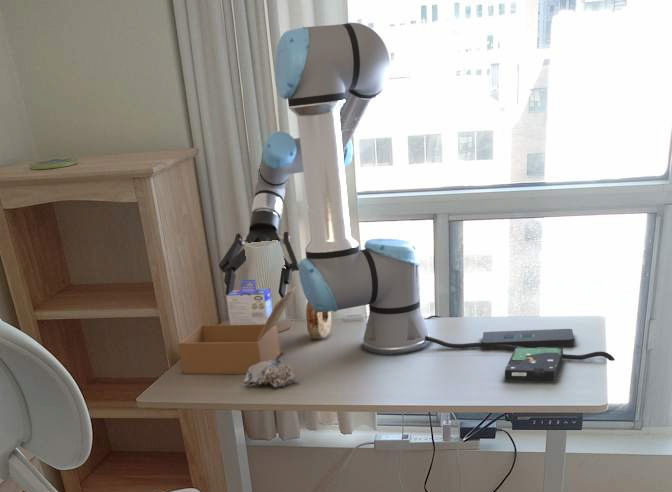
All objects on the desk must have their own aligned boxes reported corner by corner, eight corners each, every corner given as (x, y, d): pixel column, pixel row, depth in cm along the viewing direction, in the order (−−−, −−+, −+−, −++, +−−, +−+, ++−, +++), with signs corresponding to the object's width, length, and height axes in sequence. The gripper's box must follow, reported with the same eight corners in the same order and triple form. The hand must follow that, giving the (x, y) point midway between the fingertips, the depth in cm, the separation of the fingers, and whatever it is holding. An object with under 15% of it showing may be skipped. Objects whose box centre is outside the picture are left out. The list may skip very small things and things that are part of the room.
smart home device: (483, 331, 214) (572, 327, 211) (483, 338, 215) (571, 335, 212) (482, 342, 207) (574, 338, 204) (482, 349, 208) (573, 346, 205)
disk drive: (556, 384, 187) (562, 359, 198) (556, 370, 185) (563, 346, 197) (504, 383, 190) (514, 358, 201) (504, 369, 188) (514, 345, 200)
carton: (280, 353, 218) (277, 324, 215) (261, 373, 207) (257, 342, 203) (205, 353, 223) (201, 324, 219) (183, 373, 212) (178, 343, 208)
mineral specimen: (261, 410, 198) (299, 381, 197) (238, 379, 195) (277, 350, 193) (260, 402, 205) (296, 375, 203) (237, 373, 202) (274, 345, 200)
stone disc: (320, 344, 222) (316, 301, 217) (306, 343, 223) (302, 301, 218) (335, 330, 230) (331, 289, 225) (321, 330, 231) (317, 289, 226)
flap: (276, 320, 214) (277, 321, 214) (257, 339, 203) (258, 340, 203) (294, 286, 209) (296, 287, 209) (276, 303, 198) (277, 304, 198)
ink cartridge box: (277, 338, 229) (269, 277, 222) (271, 345, 225) (263, 283, 217) (238, 338, 231) (230, 279, 224) (232, 345, 227) (223, 285, 219)
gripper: (318, 225, 231) (308, 302, 226) (224, 228, 237) (212, 304, 233) (310, 206, 223) (299, 286, 219) (213, 210, 230) (201, 288, 226)
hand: (254, 296), depth 226 cm, fingers open, 13 cm apart
